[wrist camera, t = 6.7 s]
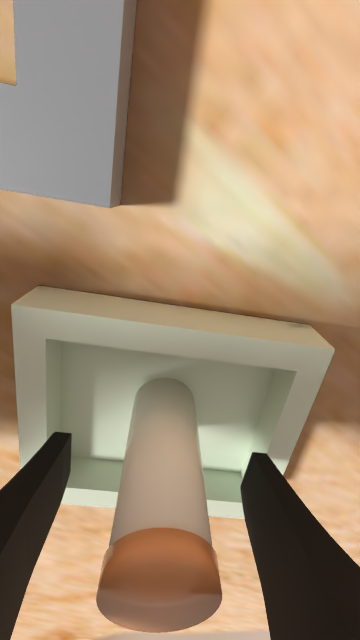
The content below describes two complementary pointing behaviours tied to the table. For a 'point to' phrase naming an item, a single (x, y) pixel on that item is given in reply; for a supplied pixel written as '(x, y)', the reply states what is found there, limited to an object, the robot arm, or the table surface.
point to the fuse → (161, 520)
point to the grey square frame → (68, 100)
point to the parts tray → (151, 363)
